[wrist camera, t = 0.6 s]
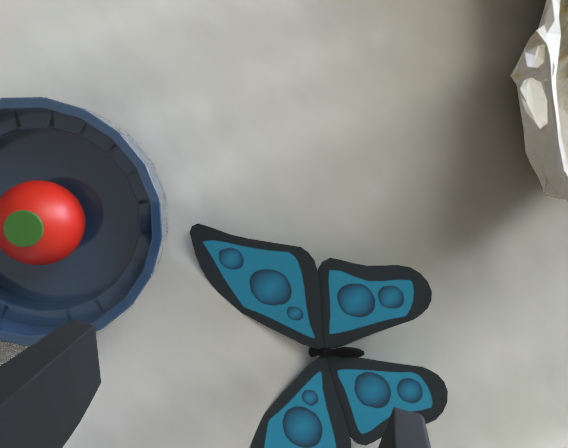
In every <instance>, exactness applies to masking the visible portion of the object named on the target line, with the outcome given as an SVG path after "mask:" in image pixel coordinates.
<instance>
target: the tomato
mask: <svg viewBox="0 0 568 448" xmlns="http://www.w3.org/2000/svg"><path fill="white" fill-rule="evenodd" d="M84 231H85V214H84V210H83V208H82V206H81V204H80V202H79V200H78V199H77V198H76V197H75V196H74V195H73V194H72V193H71V192H70V191H69V190H68V189H66V188H64V187H63V186H61V185H59V184H56V183H53V182H50V181H43V180H33V181H27V182H23V183H20V184H18V185H16V186H14V187H12V188H10V189H9V190H8V191H6V192H5V193H4V194H3V195H2V196H1V197H0V248H1V249H2V250H3V251H4V252H5V253H6V254H7V255H8V256H10V257H11V258H13V259H15V260H17V261H19V262H22V263H25V264H29V265H48V264H52V263H55V262H58V261H60V260H62V259H64V258H66V257H67V256H69V255H70V254H71V253H72V252H73V251H74V250H75V249H76V248H77V247H78V245H79V243H80V242H81V240H82V238H83V235H84Z"/></svg>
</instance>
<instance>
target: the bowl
mask: <svg viewBox="0 0 568 448" xmlns="http://www.w3.org/2000/svg"><path fill="white" fill-rule="evenodd" d="M33 180H43V181H50V182H53V183H56V184H59V185H61V186H63V187H64V188H66V189H68V190H69V191H70V192H71V193H72V194H73V195H74V196H75V197H76V198H77V199H78V200H79V202H80V204H81V206H82V208H83V210H84V214H85V231H84V235H83V238H82V240H81V242H80V243H79V245H78V247H77V248H76V249H75V250H74V251H73V252H72V253H71V254H70V255H69V256H67V257H66V258H64V259H62V260H60V261H58V262H55V263H52V264H48V265H29V264H25V263H22V262H19V261H17V260H15V259H13V258H11V257H10V256H8V255H7V254H6V253H5V252H4V251H3V250H2V249H1V248H0V340H2V341H6V342H11V343H15V344H20V345H24V346H25V345H26V346H29V345H33V344H35V343H36V342H38V341H39V340H41V339H42V338H44V337H45V336H47V335H48V334H50V333H51V332H53V331H54V330H56V329H57V328H59V327H60V326H62V325H63V324H65V323H66V322H68V321H70V320H71V319H73V320H76V321H80V322H84V323H88V324H91V325H95V331H98V330H101V329H102V328H104V327H105V326H106V325H108V324H109V323H110V322H112V321H113V320H114V319H115V318H117V317H118V316H119V315H120V314H122V313H123V312H124V311H125V310H127V309H128V308H129V307H131V305H133V303H134V302H135V300H136V299H137V297H138V296H139V294H140V293H141V291H142V290H143V288H144V287H145V285H146V284H147V282H148V281H149V279H150V278H151V276H152V275H153V273H154V271H155V269H156V267H157V266H158V264H159V262H160V258H161V254H162V251H163V247H164V243H165V239H166V236H167V232H168V231H167V230H168V222H167V206H166V196H165V192H164V190H163V187H162V185H161V182H160V180H159V177H158V175H157V172H156V170H155V167H154V165H153V164H152V162H151V160H150V159H149V158H148V157H147V155H146V154H145V153H144V152H143V151H142V149H141V148H140V147H139V146H138V144H137V143H136V142H135V141H134V140H133V138H132V137H131V136H130V135H129V134H128V133H126V132H125V131H123V130H121V129H120V128H118V127H117V126H115V125H114V124H112V123H111V122H109V121H108V120H106V119H105V118H103V117H102V116H100V115H98V114H96V113H93V112H90V111H88V110H85V109H82V108H79V107H75V106H72V105H68V104H65V103H62V102H58V101H55V100H51V99H48V98H43V97H25V98H0V197H1V196H2V195H3V194H4V193H5V192H6V191H8V190H9V189H10V188H12V187H14V186H16V185H18V184H20V183H23V182H27V181H33Z"/></svg>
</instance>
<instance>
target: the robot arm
mask: <svg viewBox="0 0 568 448" xmlns="http://www.w3.org/2000/svg"><path fill="white" fill-rule="evenodd" d="M100 383H101V378H100V369H99V359H98V350H97V341H96V332H95V325H91V324H88V323H84V322H80V321H76V320H73V319H71V320H70V321H68V322H66V323H65V324H63V325H62V326H60V327H59V328H57V329H56V330H54V331H53V332H51V333H50V334H48V335H47V336H45V337H44V338H42V339H41V340H39V341H38V342H36V343H35V344H33V345H32V346H30V347H29V348H27V349H26V350H24V351H23V352H21V353H20V354H18V355H17V356H15V357H14V358H12V359H10V360H9V361H7V362H6V363H4V364H3V365H1V366H0V448H62V447H63V446H64V444H65V443H66V442H67V440H68V439H69V437H70V436H71V434H72V433H73V431H74V430H75V428H76V427H77V425H78V424H79V423H80V421H81V419H82V417H83V415H84V414H85V412H86V410H87V408H88V406H89V405H90V403H91V401H92V399H93V397H94V395H95V393H96V391H97V389H98V387H99V385H100ZM378 448H431V446H430V442H429V438H428V433H427V429H426V424H425V419H424V418H423V416H422V415H421V414H418V413H414V412H410V411H407V410H403V409H399V408H396V407H393V410H392V413H391V415H390V418H389V421H388V423H387V426H386V429H385V431H384V434H383V437H382V439H381V442H380V445H379V447H378Z"/></svg>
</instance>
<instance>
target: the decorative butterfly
mask: <svg viewBox="0 0 568 448" xmlns="http://www.w3.org/2000/svg"><path fill="white" fill-rule="evenodd" d="M190 235H191V239H192V243H193V247H194V250H195V254H196V257H197V259H198V262H199V264H200V267H201V269H202V270H203V272H204V274H205V276H206V277H207V279H208V280H209V282H210V283H211V284H212V285H213V287H214V288H215V289H216V290H217V291H218V292H219V293H220V294H221V295H222V296H223V297H225V298H226V299H227V300H228V301H229V302H230V303H231V304H232V305H234V306H235V307H236V308H237V309H238V310H240V311H241V312H242V313H244V314H245V315H247V316H249V317H251V318H252V319H254V320H256V321H258V322H260V323H261V324H263V325H265V326H267V327H269V328H271V329H273V330H275V331H277V332H279V333H281V334H283V335H285V336H287V337H289V338H291V339H293V340H295V341H297V342H299V343H302V344H304V345H307V346H310V347H311V348H310V349H309V355H310V356H311V357H315V356H318V355H319V356H320V357H319V358H318V359H316V360H315V361H314V362H313V363H311V364H310V365H309V366H307V367H306V368H305V369H304V370H303V372H302V373H301V374H300V375H299V376H298V377H297V378H296V379H295V380H294V381H293V382H292V383H291V385H290V386H289V387H288V388H287V389H286V390H285V391H284V392H283V393H282V394H281V395H280V396H279V398H278V399H277V400H276V401H275V402H274V404H273V405H272V406H271V407H270V408H269V410H268V411H267V412H266V414H265V415H264V417H263V419H262V421H261V423H260V425H259V427H258V429H257V432H256V434H255V436H254V439H253V441H252V444H251V447H250V448H351V441H350V437H351V438H352V439H353V440H354V441H355V442H356V443H358V444H362V445H368V444H370V443H372V442H374V441H376V440H378V439H379V438H381V437H383V434H384V431H385V429H386V426H387V423H388V421H389V418H390V415H391V413H392V410H393V407H396V408H399V409H403V410H407V411H410V412H414V413H418V414H421V415H422V416H423V418H424V419H425V424H427V423H429V422H431V421H434V420H436V418H437V417H438V416H439V415H440V414H441V413H442V412H443V410H444V408H445V406H446V403H447V392H448V391H447V388H446V386H445V383H444V381H443V380H442V379H441V378H440V377H439V376H438V375H437V374H435V373H434V372H432V371H430V370H428V369H426V368H424V367H419V366H411V365H404V364H396V363H389V362H383V361H376V360H370V359H364V358H359V357H361V356H362V355H364V351H362V350H361V349H357V348H351V347H341V346H344V345H346V344H348V343H351V342H353V341H356V340H358V339H361V338H363V337H366V336H369V335H371V334H374V333H376V332H379V331H382V330H385V329H387V328H390V327H393V326H396V325H399V324H402V323H405V322H408V321H411V320H413V319H415V318H417V317H418V316H419V315H421V314H422V313H423V312H424V311H425V310H426V309H427V308H428V306H429V304H430V302H431V295H432V291H431V289H430V286H429V284H428V282H427V280H426V279H425V278H424V277H423V276H422V275H421V274H420V273H419V272H417V271H415V270H414V269H412V268H410V267H405V266H399V265H388V266H365V265H359V264H354V263H350V262H346V261H342V260H338V259H333V258H329V259H327V260H325V261H323V262H322V263H321V265H320V267H319V268H318V271H317V268H316V264H315V261H314V259H313V258H312V257H311V256H310V254H309V253H308V252H307V251H305V250H304V249H303V248H301V247H297V246H290V245H284V244H277V243H271V242H265V241H258V240H252V239H247V238H243V237H239V236H234V235H230V234H227V233H225V232H222V231H219V230H216V229H214V228H211V227H207V226H204V225H201V224H196V225H194V226H192V227H191V230H190ZM336 347H341V348H336ZM332 348H336V349H332ZM349 435H350V437H349Z"/></svg>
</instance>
